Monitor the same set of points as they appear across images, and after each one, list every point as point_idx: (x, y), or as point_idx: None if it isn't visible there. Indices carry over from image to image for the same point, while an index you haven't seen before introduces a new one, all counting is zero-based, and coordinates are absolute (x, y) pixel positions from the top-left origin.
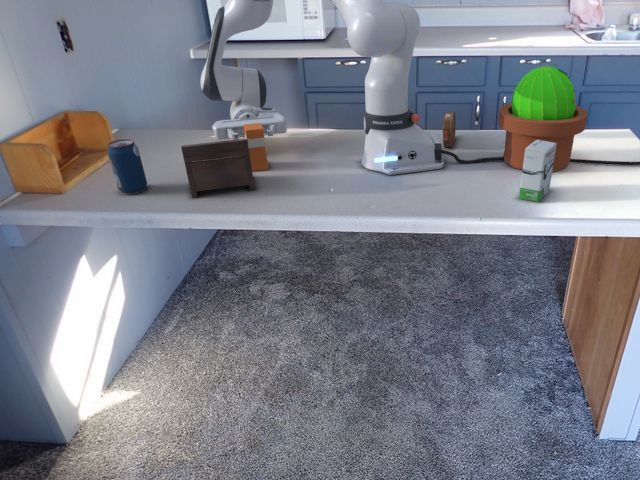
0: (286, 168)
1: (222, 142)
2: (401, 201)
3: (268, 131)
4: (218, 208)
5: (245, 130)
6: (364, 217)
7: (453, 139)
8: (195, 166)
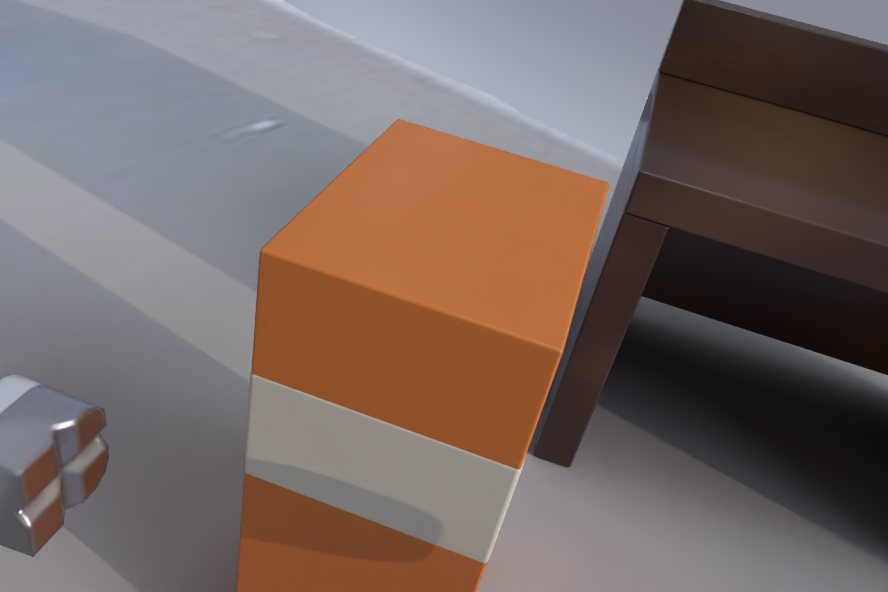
0: (204, 406)
1: (862, 39)
2: (166, 8)
3: (90, 408)
4: None
5: (605, 196)
6: (341, 32)
7: None
8: None
